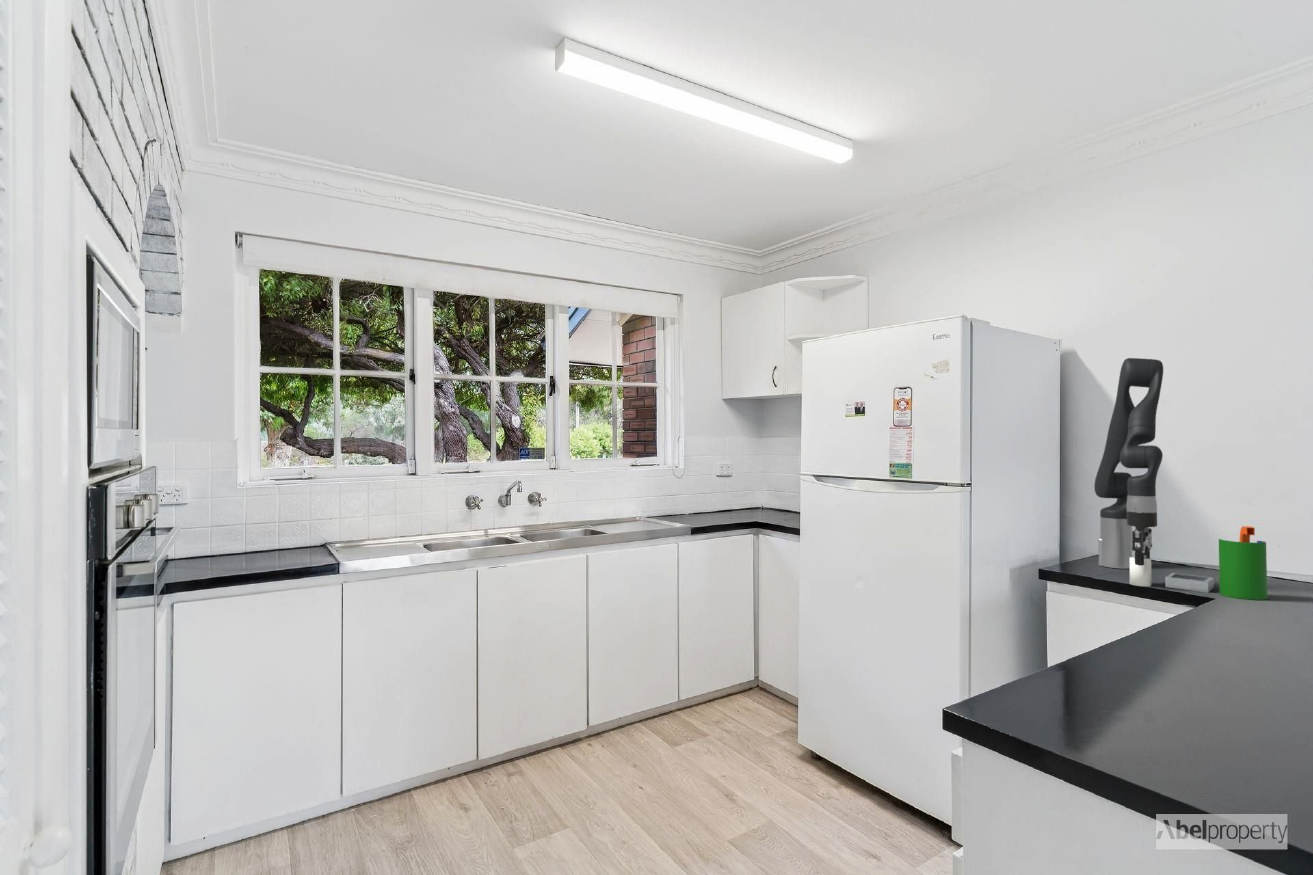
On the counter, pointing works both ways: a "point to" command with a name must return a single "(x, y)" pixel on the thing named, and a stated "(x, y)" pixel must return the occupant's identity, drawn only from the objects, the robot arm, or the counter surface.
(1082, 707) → the counter surface
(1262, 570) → the green cylindrical container
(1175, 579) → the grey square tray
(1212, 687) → the counter surface
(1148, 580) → the white cylinder
